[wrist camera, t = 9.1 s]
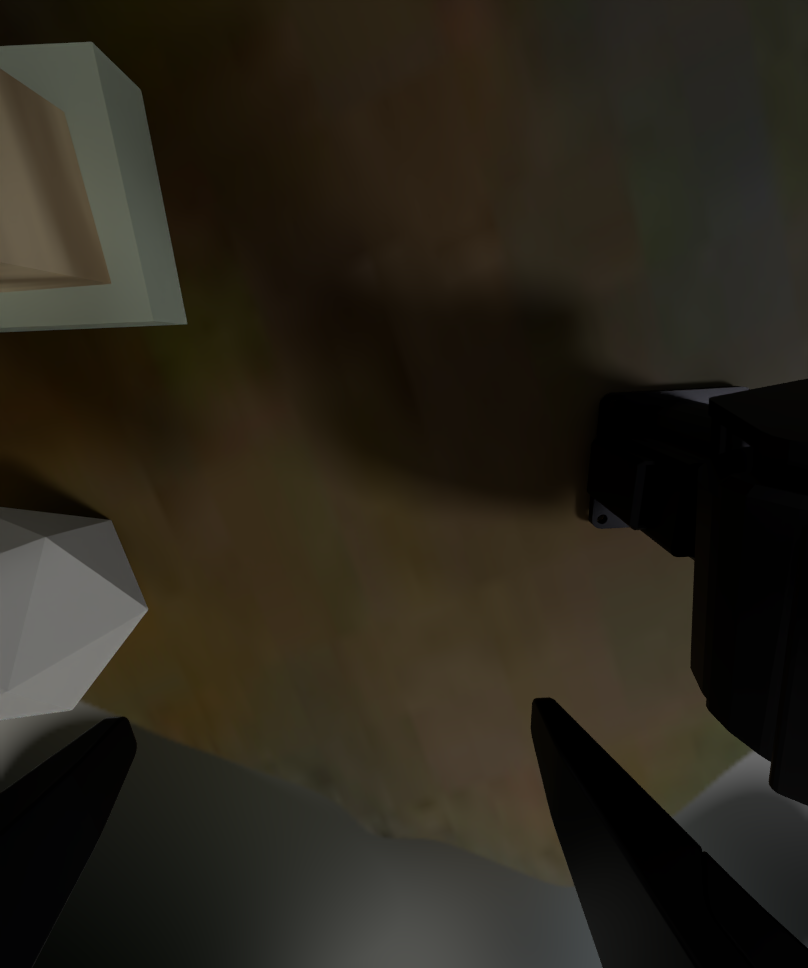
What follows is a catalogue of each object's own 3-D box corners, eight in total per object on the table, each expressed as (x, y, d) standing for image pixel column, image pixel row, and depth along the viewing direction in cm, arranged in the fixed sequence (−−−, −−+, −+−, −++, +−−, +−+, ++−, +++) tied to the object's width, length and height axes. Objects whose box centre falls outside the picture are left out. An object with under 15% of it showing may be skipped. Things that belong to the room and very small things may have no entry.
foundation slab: (148, 97, 15) (91, 41, 13) (192, 324, 18) (153, 321, 15) (-63, 107, 16) (-167, 54, 13) (11, 332, 18) (-61, 330, 15)
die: (-4, 457, 20) (-284, 652, 14) (82, 455, 16) (-277, 740, 10) (129, 560, 25) (-35, 734, 19) (221, 580, 21) (45, 815, 15)
